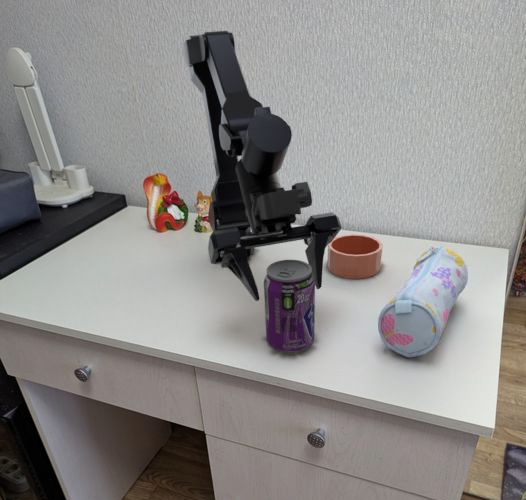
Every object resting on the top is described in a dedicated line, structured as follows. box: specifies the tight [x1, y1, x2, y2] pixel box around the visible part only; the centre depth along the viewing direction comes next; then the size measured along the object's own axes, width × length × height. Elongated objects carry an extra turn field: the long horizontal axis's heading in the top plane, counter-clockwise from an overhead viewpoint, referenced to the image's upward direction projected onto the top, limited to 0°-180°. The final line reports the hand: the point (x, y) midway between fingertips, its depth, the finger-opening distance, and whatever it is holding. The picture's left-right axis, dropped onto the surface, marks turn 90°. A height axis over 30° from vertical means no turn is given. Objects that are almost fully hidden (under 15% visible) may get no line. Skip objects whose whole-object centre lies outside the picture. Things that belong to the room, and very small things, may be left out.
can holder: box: [326, 233, 384, 280], centre depth 92 cm, size 10×10×4 cm
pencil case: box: [377, 245, 469, 358], centre depth 73 cm, size 21×9×10 cm, turn 151°
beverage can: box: [263, 259, 316, 353], centre depth 70 cm, size 7×7×12 cm
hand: (289, 294), depth 69 cm, fingers open, 9 cm apart
